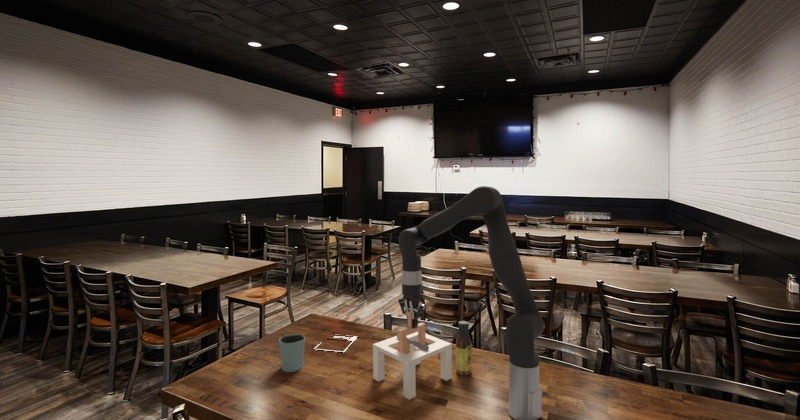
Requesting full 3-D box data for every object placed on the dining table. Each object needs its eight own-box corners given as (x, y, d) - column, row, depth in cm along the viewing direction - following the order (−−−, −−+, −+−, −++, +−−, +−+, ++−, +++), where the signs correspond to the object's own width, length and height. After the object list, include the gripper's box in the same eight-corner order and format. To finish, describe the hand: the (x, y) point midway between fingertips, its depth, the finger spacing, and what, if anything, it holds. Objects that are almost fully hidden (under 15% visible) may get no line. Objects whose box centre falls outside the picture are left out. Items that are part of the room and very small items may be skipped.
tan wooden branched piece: (420, 348, 158) (419, 306, 156) (429, 352, 154) (429, 309, 153) (395, 358, 149) (394, 313, 148) (404, 362, 145) (403, 317, 144)
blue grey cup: (275, 371, 159) (274, 342, 158) (287, 360, 169) (287, 332, 168) (298, 374, 157) (297, 344, 156) (310, 362, 166) (309, 334, 166)
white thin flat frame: (358, 336, 193) (343, 351, 175) (358, 338, 193) (343, 354, 175) (329, 333, 196) (313, 348, 179) (330, 335, 196) (313, 351, 179)
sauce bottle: (471, 377, 153) (471, 326, 151) (455, 375, 154) (455, 325, 153) (471, 369, 159) (472, 320, 158) (456, 367, 160) (456, 319, 159)
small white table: (415, 361, 167) (414, 325, 166) (451, 378, 152) (451, 339, 151) (373, 378, 152) (372, 340, 151) (409, 399, 137) (408, 357, 136)
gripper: (432, 283, 147) (432, 329, 148) (406, 276, 157) (407, 320, 158) (417, 287, 142) (417, 334, 143) (392, 280, 152) (392, 324, 153)
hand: (412, 326), depth 151 cm, fingers closed on tan wooden branched piece
